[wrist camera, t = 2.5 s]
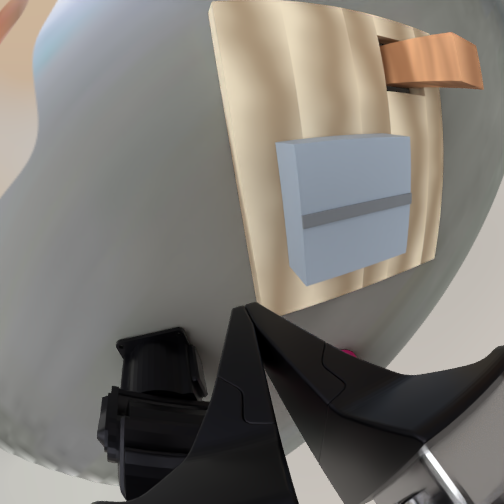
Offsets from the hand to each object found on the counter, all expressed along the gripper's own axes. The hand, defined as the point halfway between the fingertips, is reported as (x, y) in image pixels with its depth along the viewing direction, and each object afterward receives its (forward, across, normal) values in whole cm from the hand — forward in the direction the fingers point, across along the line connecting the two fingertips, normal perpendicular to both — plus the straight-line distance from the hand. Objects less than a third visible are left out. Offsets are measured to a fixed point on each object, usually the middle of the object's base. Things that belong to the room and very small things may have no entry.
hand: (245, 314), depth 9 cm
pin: (+12, -18, -11) cm, 24 cm away
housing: (+9, -10, 0) cm, 13 cm away
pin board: (+12, -12, -3) cm, 17 cm away
